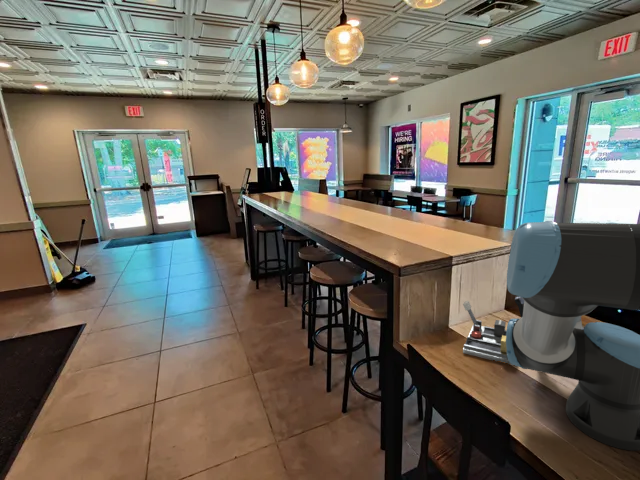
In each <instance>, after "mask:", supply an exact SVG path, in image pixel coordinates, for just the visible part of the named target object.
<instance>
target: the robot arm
mask: <svg viewBox="0 0 640 480" xmlns="http://www.w3.org/2000/svg"><path fill="white" fill-rule="evenodd" d="M510 245H511V246H510V252H509V255H508V261H507V270H506V271H507V273H506V288H507V291H508V292H509V293H510V294H511V295H513V296H515V298H514V302H515V304H516V306H518V310H519V311H518V312H519V315H520V317H519V318H511V319H509V320H508V322H507V324H506V330H507V332H506V348H507V357H508V360H509V362H510V363H511V364H512V365H511V366H513V365H515V366H514V367H518V368H521V369H523V370H531V371H535V372H541V373H544V374H549V375H554V376H559V377H563V378H567V379H572V380H575V381H576V380H577V381H578V383H577V384H576V386H575V387H574V388H573V390H572V392H571V393H569V394H570V395H569V396H568V397H567V399H566V405H565V413H566V416H567V417H568V419H569V420H570V421H571V423H572V424H573V425H574V426H575V427H576V428H577V429H579V431H580V432H582V433H584V434H585V435H587V436H588V437H590V438H592V439H593V440H595V441H598V442H600V443H602V444H604V445H606V446H609V447H613V448H616V449H620V450H626V451H640V334H638V333H637V332H635V331H633V330H630V329H628V328H625V327H623V326H620V325H616V324H612V323H608V322H601V321H595V322H593V321H592V322H587V323H586V324H585V325H584V327H583V328H582V329H577V328H575V325H576V323H577V321H578V319H579V317H580V316H581V317H582V316H585V315H588V314H590V313H591V312H592V311H593V310H595V309H597V307H599V306H600V307H607V308H615V309H623V310H631V311H640V223H605V222H604V223H603V222H601V223H598V222H594V223H593V222H555V221H552V220H545V221H541V222H540V221H539V222H538V221H537V222H535V221H534V222H524V223H522V224H520V225H519V226H518V227H516V229H515V231H514V234H513V236H512V240H511V244H510Z"/></svg>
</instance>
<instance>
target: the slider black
mask: <svg viewBox="0 0 640 480" xmlns="http://www.w3.org/2000/svg"><path fill="white" fill-rule="evenodd" d="M506 325H507V324H506V321H504V320H501V319H495V321H494V324H493V326H494V327H493V328H494V335H495V336H500V337H502V335H503V336H504V335H505V330H506Z"/></svg>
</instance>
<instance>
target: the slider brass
mask: <svg viewBox="0 0 640 480" xmlns="http://www.w3.org/2000/svg"><path fill="white" fill-rule="evenodd" d="M500 353H505V354H507V348H506V336H503V335H502V339H501V350H500Z"/></svg>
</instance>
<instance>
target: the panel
mask: <svg viewBox="0 0 640 480" xmlns="http://www.w3.org/2000/svg"><path fill="white" fill-rule="evenodd" d="M476 321H477V323H478V324H479V325H474V324H472V325H471V326H472V327H471V329H470V331H469V334H468V336H467V337H466V341H465V343H464V344H463V348H462V353H463V354H465V355H466V354H467V355H470V356H473V357H478V358H482V359H486V360H490V361H493V360H495V361H494V362H497V361H501V362H505V363H508V364H507V365H509V364H511V363H510V362H509V360H508V357H507V354H505V353H500V350H501V339H502V337H500V336H495V335H494V327H490V326H483V325H482V323H483V321H482V320H478V319H476ZM506 332H507V329H505V335H504V336H506ZM501 362H500V363H501ZM505 363H504V364H505ZM510 366H513V365H512V364H511V365H510Z"/></svg>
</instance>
